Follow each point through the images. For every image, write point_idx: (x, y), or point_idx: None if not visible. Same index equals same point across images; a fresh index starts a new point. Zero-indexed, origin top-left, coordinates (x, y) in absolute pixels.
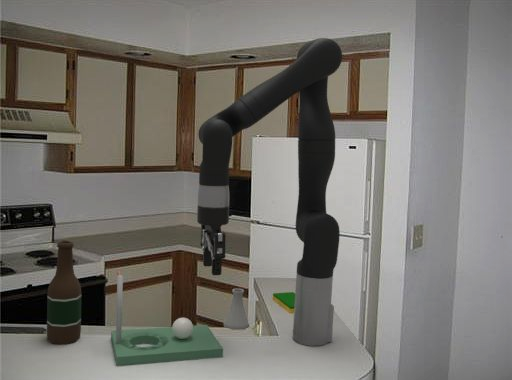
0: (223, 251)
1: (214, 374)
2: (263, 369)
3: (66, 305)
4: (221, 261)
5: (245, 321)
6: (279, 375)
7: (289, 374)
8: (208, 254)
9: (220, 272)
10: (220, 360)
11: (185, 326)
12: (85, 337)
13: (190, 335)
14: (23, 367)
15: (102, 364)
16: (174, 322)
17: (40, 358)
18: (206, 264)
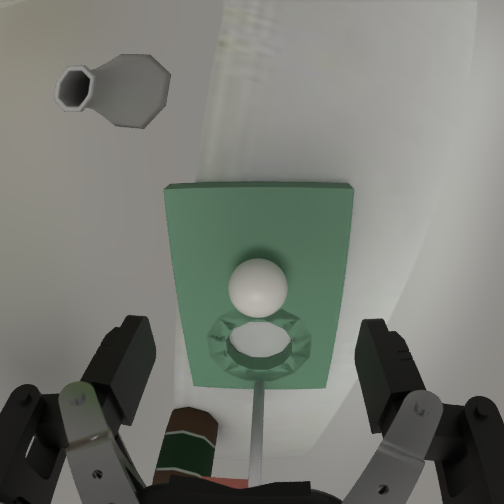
0: (501, 445)
1: (424, 228)
2: (435, 115)
3: (209, 475)
4: (407, 380)
5: (148, 66)
6: (465, 98)
7: (465, 75)
8: (127, 390)
9: (385, 329)
10: (366, 194)
11: (284, 294)
12: (187, 401)
13: (242, 250)
14: (288, 449)
15: (309, 391)
16: (255, 317)
17: (263, 440)
18: (149, 349)
